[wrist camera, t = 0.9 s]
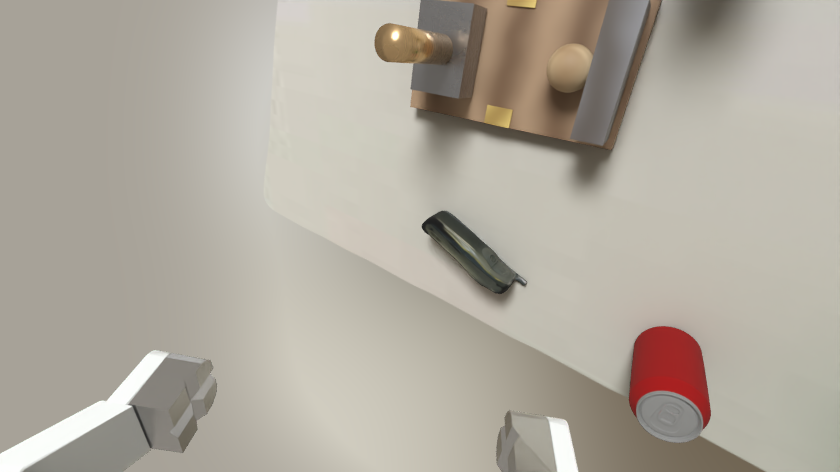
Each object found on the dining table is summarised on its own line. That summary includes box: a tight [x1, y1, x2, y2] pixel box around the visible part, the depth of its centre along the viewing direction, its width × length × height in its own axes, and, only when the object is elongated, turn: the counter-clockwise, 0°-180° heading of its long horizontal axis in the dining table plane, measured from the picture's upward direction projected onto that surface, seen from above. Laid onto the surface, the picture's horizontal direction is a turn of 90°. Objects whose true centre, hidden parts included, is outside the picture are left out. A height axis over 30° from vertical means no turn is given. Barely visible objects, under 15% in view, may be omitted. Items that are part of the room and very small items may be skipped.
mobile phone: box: [422, 211, 527, 294], centre depth 54 cm, size 5×3×15 cm
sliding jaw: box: [375, 0, 487, 99], centre depth 41 cm, size 6×9×14 cm, turn 171°
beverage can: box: [629, 326, 711, 443], centre depth 43 cm, size 7×7×12 cm
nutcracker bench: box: [410, 0, 662, 150], centre depth 43 cm, size 24×14×7 cm, turn 81°
